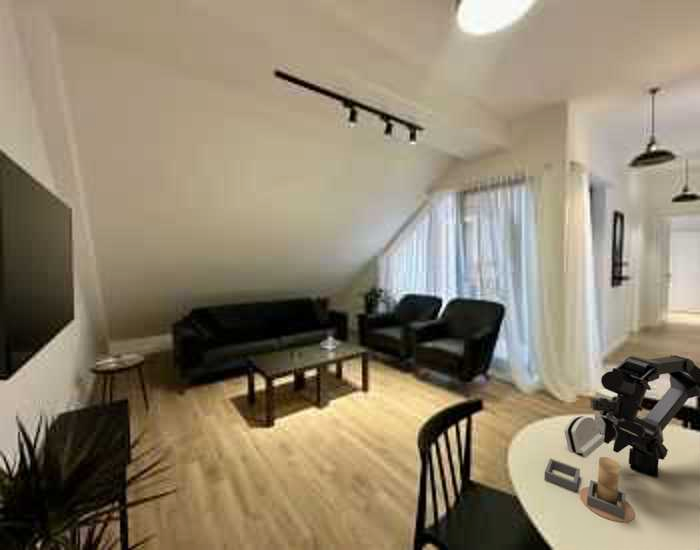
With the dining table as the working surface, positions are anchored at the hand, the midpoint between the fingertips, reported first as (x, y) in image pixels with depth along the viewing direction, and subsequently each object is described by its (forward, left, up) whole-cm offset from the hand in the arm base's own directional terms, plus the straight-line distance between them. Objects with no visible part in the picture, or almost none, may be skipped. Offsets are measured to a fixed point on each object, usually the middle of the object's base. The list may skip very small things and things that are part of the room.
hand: (610, 447), depth 100 cm
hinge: (+8, -16, -11) cm, 21 cm away
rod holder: (+11, +8, -10) cm, 17 cm away
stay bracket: (0, +12, -10) cm, 16 cm away
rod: (0, +12, -10) cm, 16 cm away
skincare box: (+2, -31, -11) cm, 33 cm away
